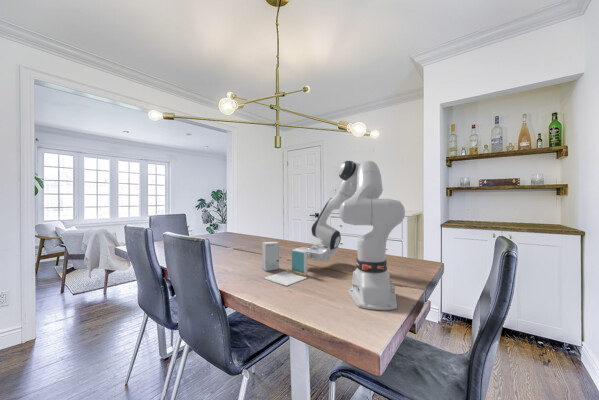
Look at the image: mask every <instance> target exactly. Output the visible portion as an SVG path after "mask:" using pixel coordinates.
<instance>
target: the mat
mask: <svg viewBox="0 0 599 400" xmlns="http://www.w3.org/2000/svg"><path fill="white" fill-rule="evenodd" d="M307 278H308V277H307ZM307 278H306V277H303V276H299V275H295V274H292V273H288V272H286V270H285V271H281V272H277V273H275V274H272V275H268V276H264V277H263V280H267V281H269V282H273V283H276V284H278V285H282V286H285V287H288V286H291V285H294V284H297V283H299V282H302V281H304V280H307Z"/></svg>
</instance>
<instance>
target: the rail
mask: <svg viewBox="0 0 599 400" xmlns="http://www.w3.org/2000/svg"><path fill="white" fill-rule="evenodd" d="M285 272H288V273H292V274H295V275H299V276H303V277H306V278H308V277H309V274H308V273H307V274H305V273H301V272H298V271H294V270H292V269H289V268H286V269H285Z"/></svg>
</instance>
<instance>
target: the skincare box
mask: <svg viewBox="0 0 599 400" xmlns="http://www.w3.org/2000/svg"><path fill="white" fill-rule="evenodd" d="M261 245H262V247H261V249H262V251H261V256H262V257H261V267H262V268H261V269H262V270H263V271H265V272H268V271H274V270H275V271H276V270H279V269H280V242H277V241H263V242H261Z"/></svg>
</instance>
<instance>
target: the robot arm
mask: <svg viewBox="0 0 599 400" xmlns="http://www.w3.org/2000/svg"><path fill="white" fill-rule="evenodd" d="M338 177H339V178H340V179H341V180H342V182H341V183H340V185H339V187H338V190H337V192H336V194H335V195H334V196H333V197H331V198H329V199H328V200H327V202H326V203H325V205H324V207H323V208H322V209H321V212H320V214H319V215H318V217H317V218H316V220H315V221H314V222H313V224H312V226H311V230H310V231H311V235H312V236H313V237H314V238H317V239H319V240H321V241H322V242H319V243H318V242H317V243H313V244H312V245H311V246H310V247H303V246H301V247H300V246H299V247H295V248H294V249H295V250H300V251H306V252H307V259H314V260H316V261H317V260H318V261H328V260H330V259H331V256H333V255H336V253H337V252H338V250H339V246H340V244H341V239H342V236H341V232H340V230H337V229H336V228H334V227H332V226H330V225H328V224H327V220H328V218H329V217H330V215H331V214H332V212H333V211H335V210H338V211H339V212H338V213H339V218H340V220H341V222H342V223H344V224H347V225H352V226H371V227H372V229H371V231H369V232H367V233H365V234H363V235H361V236H360V237H359V238H358V240H357V257H356V263H355V264H356V268H355V270H354V271H353V272H352V287H350V288H349V289H347V292H348V294H349V296H350V297H351V298H352V300H353V301H354V303H355V305H356V306H357V307H359V308H363V309H367V310H373V311H374V310H376V311H390V310H392V311H393V310H397V309H398V304H397V295H396V291H395V290H396V288H395V284H391V283H392V282H393V278H390V277H391V276H390V272H389V271H388V263H387V259H386V250H387V248H386V247H387V240H388V238H389V236H390V233H392V231H393V230H394V229H395V228H396V227H398V225H400V224H401V223H402V222H403V221H404V218H405V216H406V211H405V210H406V209H405V206H404V204H402V202H401V201H400V200H397V199H393V198H380V197H381V196H382V193H383V182H382V175H381V170H380V167H379V166H378V165H377V163H376V162H374V161H373V160H366V161H363V162H361V163H358V162H355V161H353V160H346V161H344V162H342V163H341V165H340V167H339V169H338Z"/></svg>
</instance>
